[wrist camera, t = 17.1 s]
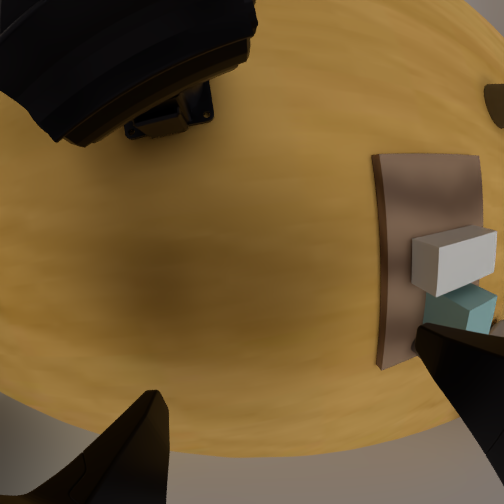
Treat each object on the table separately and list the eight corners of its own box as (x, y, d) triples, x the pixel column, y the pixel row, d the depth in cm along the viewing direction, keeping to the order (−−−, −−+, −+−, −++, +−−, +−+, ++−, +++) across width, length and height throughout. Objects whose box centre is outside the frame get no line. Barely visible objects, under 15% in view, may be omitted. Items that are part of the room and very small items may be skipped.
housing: (411, 238, 20) (439, 247, 16) (472, 224, 20) (496, 230, 17) (411, 283, 21) (435, 297, 17) (470, 262, 21) (493, 271, 18)
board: (371, 155, 19) (410, 149, 14) (471, 155, 20) (506, 155, 15) (376, 364, 24) (400, 393, 19) (464, 324, 25) (491, 341, 20)
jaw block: (426, 286, 21) (469, 310, 16) (456, 276, 22) (497, 295, 16) (422, 327, 22) (458, 356, 17) (451, 315, 23) (487, 338, 17)
